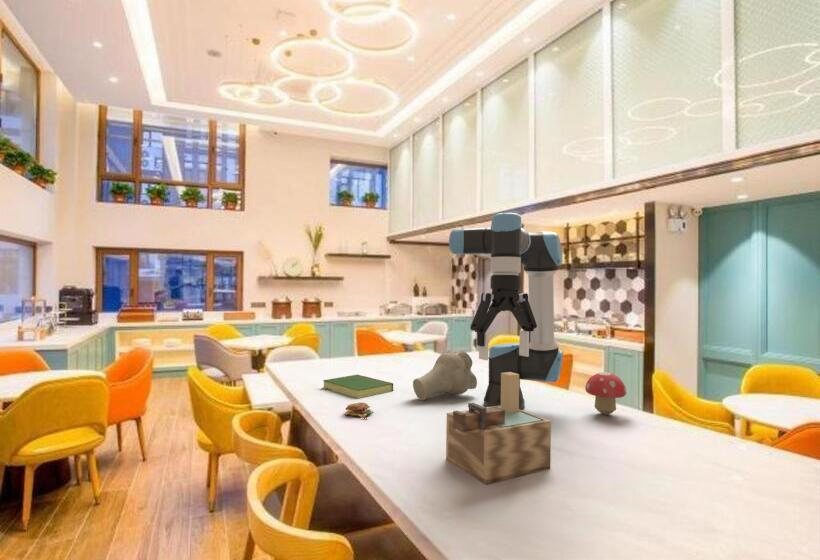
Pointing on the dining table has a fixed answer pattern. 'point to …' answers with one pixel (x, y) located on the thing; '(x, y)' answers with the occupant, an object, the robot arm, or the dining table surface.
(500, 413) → the block
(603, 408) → the decorative mushroom
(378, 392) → the hardcover book
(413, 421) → the dining table surface
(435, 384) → the beige knobby lump
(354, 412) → the hamburger
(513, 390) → the lid
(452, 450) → the toolbox
